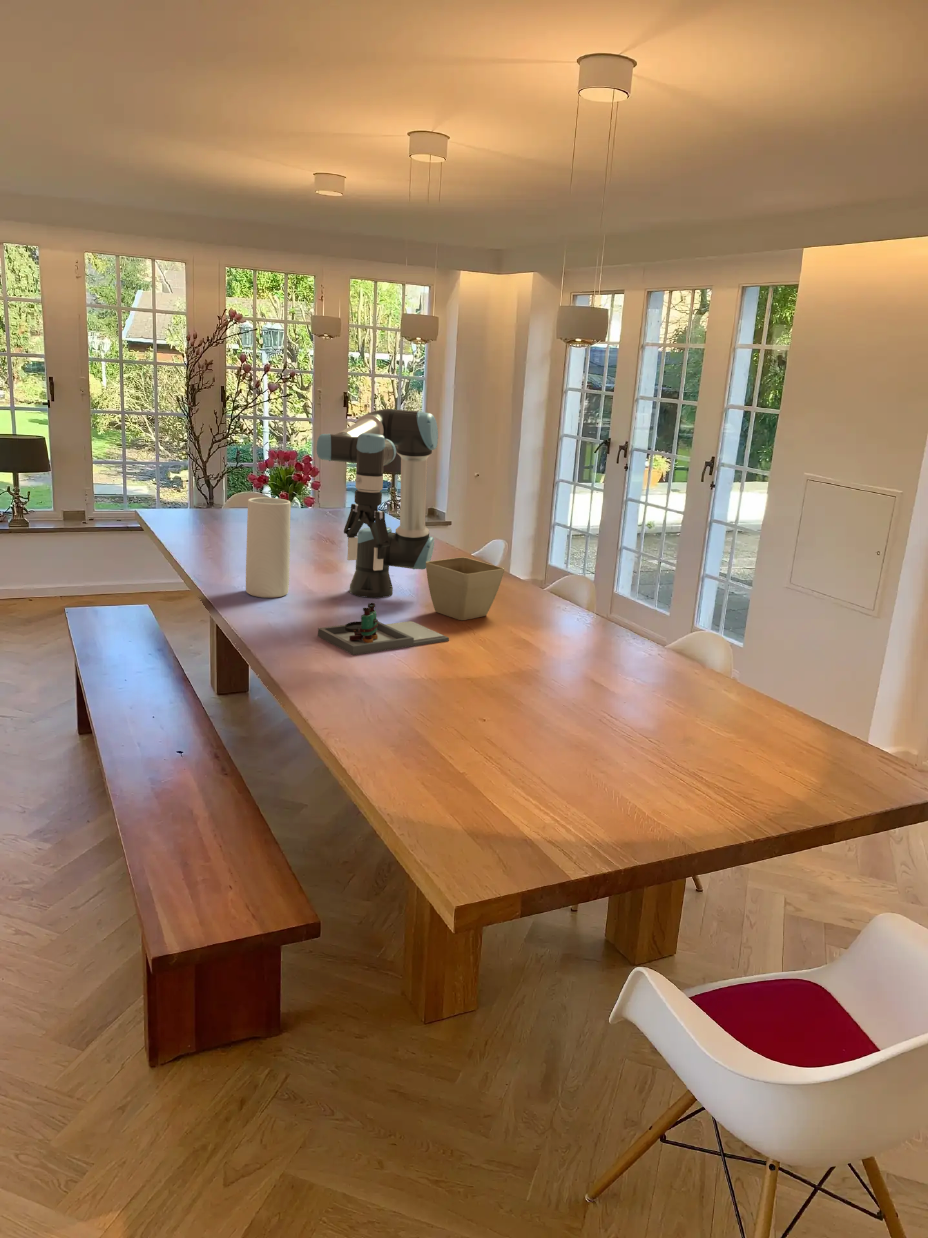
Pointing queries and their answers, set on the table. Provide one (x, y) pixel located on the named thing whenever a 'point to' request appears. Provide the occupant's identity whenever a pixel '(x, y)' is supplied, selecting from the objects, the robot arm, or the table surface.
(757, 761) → the table surface
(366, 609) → the binoculars
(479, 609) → the flower pot
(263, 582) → the vase
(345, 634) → the case
